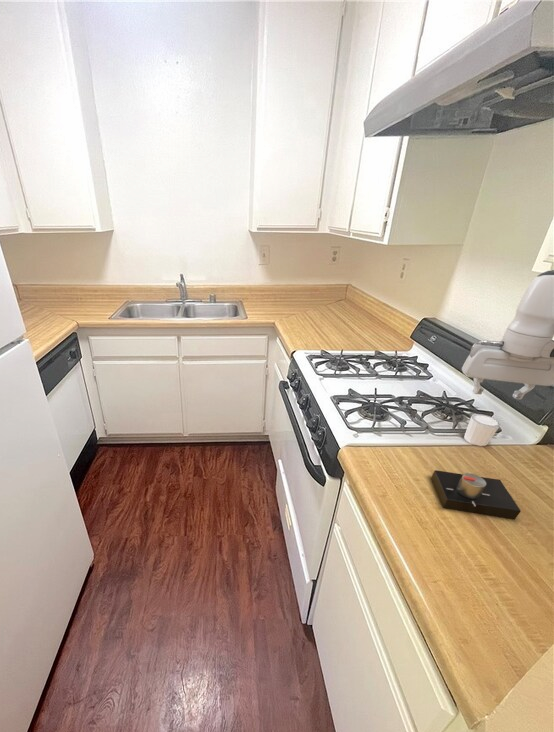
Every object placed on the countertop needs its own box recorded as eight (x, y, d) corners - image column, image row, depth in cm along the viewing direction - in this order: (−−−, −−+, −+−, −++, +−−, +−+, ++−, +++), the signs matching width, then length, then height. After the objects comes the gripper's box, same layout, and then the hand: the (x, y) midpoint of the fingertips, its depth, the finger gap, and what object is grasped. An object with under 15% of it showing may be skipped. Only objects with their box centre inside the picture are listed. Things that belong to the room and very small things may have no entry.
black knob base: (494, 489, 81) (500, 479, 79) (515, 524, 72) (523, 513, 70) (430, 479, 83) (434, 469, 81) (443, 512, 74) (449, 501, 72)
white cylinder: (463, 445, 95) (474, 423, 91) (458, 432, 101) (468, 411, 97) (492, 450, 94) (504, 428, 90) (485, 437, 99) (496, 416, 95)
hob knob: (474, 487, 76) (482, 473, 74) (482, 500, 73) (490, 487, 71) (453, 483, 77) (460, 470, 75) (459, 497, 74) (467, 483, 71)
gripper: (480, 343, 81) (457, 396, 88) (580, 353, 78) (546, 406, 85) (471, 335, 86) (449, 385, 94) (563, 343, 83) (533, 395, 90)
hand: (496, 395), depth 89 cm, fingers open, 8 cm apart
